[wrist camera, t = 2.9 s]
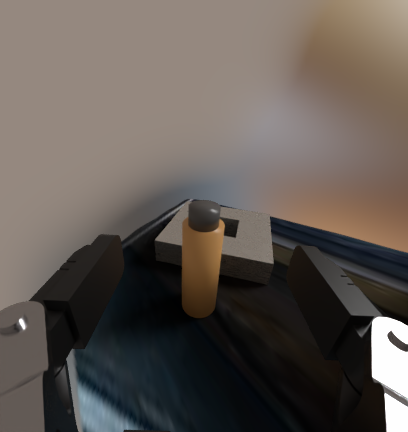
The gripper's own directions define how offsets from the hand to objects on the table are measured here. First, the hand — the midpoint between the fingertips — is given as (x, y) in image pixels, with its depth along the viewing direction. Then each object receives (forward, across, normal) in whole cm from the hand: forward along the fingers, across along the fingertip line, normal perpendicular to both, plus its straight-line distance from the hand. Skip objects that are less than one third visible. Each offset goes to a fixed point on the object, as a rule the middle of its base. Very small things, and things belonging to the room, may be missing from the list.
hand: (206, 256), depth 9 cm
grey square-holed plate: (+25, -4, +16) cm, 30 cm away
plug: (+11, 0, +16) cm, 20 cm away
